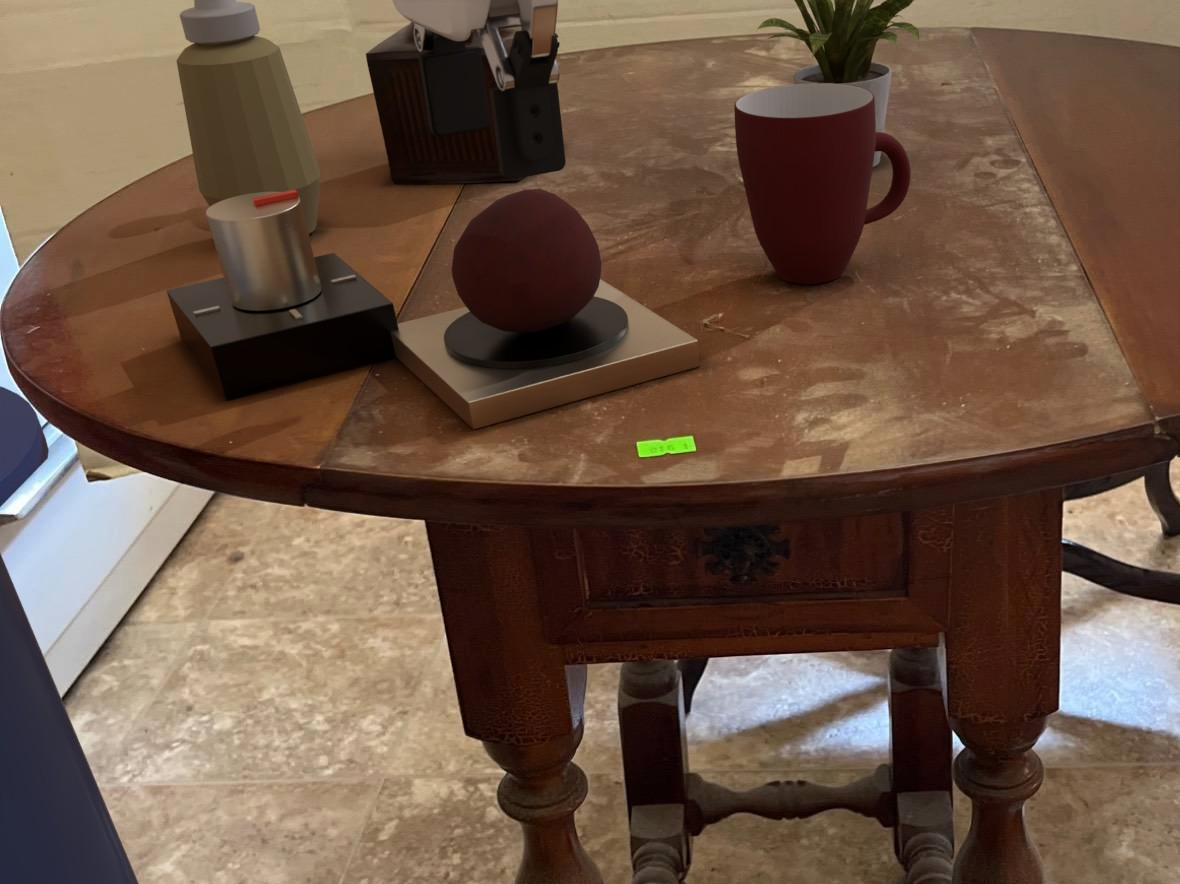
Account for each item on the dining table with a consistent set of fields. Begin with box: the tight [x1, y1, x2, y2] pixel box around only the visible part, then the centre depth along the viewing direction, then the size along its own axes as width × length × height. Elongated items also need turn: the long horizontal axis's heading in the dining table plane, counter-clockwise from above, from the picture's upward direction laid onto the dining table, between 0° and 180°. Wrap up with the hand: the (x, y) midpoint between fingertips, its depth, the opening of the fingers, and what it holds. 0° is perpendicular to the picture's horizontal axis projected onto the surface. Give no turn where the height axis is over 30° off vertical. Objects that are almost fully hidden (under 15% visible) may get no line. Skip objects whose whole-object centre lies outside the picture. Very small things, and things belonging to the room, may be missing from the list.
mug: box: [733, 83, 911, 285], centre depth 87 cm, size 11×8×10 cm
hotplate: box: [391, 278, 701, 430], centre depth 80 cm, size 13×13×2 cm
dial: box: [205, 190, 321, 311], centre depth 81 cm, size 5×5×5 cm
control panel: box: [166, 252, 399, 401], centre depth 84 cm, size 10×11×3 cm
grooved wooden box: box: [365, 21, 524, 185], centre depth 109 cm, size 16×11×18 cm
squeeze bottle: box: [176, 0, 322, 235], centre depth 97 cm, size 8×8×18 cm
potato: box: [451, 188, 603, 332], centre depth 78 cm, size 7×8×7 cm
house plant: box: [756, 0, 921, 168], centre depth 103 cm, size 14×14×16 cm
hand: (495, 151), depth 74 cm, fingers open, 9 cm apart
